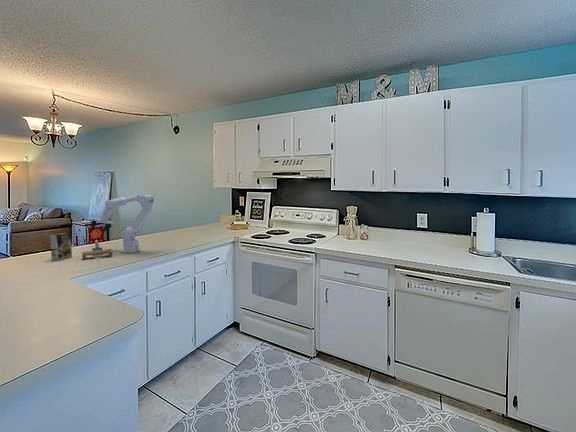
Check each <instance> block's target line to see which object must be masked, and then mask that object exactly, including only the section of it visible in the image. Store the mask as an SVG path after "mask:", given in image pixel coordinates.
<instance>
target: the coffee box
mask: <svg viewBox="0 0 576 432" xmlns="http://www.w3.org/2000/svg"><path fill="white" fill-rule="evenodd" d="M71 236H72V235H71V232H61V233H54V234H49V239H50V253H51V260H53V261H62V260H67V259H69V258H73V251H72V237H71Z"/></svg>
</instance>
